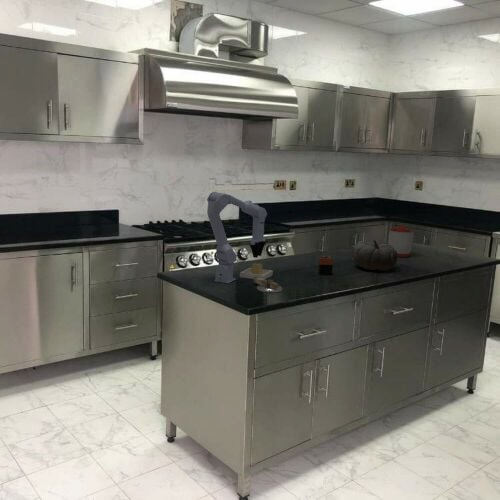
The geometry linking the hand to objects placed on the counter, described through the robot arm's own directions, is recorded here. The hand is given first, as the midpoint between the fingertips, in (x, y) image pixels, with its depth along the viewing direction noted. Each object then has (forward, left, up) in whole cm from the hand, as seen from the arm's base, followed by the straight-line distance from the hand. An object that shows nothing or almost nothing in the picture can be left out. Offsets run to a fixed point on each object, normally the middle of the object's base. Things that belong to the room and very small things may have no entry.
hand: (257, 256), depth 278 cm
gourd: (+53, -51, -11) cm, 74 cm away
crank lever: (-19, -12, -9) cm, 24 cm away
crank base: (-20, -15, -10) cm, 27 cm away
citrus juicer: (+101, -59, -11) cm, 117 cm away
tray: (0, 0, -10) cm, 10 cm away
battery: (+24, -30, -11) cm, 40 cm away
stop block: (0, 0, -10) cm, 10 cm away
